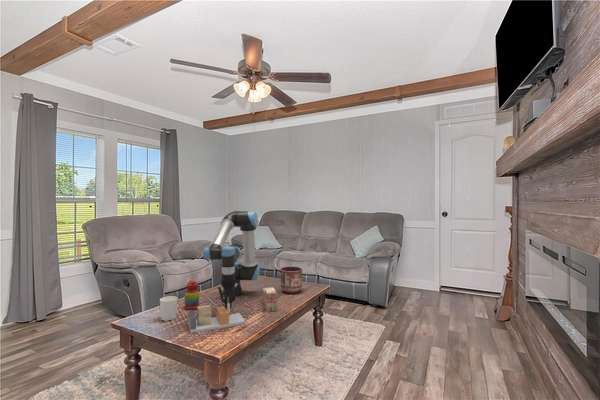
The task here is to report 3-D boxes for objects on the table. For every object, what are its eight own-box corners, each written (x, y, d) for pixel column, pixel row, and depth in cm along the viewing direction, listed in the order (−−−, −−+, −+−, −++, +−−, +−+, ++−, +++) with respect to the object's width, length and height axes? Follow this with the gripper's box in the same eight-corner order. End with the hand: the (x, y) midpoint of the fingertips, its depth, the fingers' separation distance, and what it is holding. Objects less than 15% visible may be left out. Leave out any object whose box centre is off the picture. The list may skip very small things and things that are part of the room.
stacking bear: (202, 308, 199) (202, 281, 199) (185, 311, 194) (186, 283, 194) (198, 303, 208) (198, 277, 208) (182, 306, 203) (183, 279, 203)
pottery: (275, 292, 234) (275, 269, 234) (287, 287, 249) (288, 265, 249) (294, 296, 225) (294, 272, 225) (306, 290, 240) (306, 268, 240)
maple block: (197, 322, 172) (197, 306, 172) (209, 320, 175) (210, 305, 175) (198, 325, 168) (198, 309, 168) (211, 323, 171) (211, 307, 171)
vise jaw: (216, 317, 180) (216, 307, 180) (224, 315, 182) (224, 306, 182) (220, 324, 169) (220, 314, 169) (229, 323, 172) (229, 312, 172)
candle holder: (163, 315, 186) (163, 296, 186) (179, 315, 187) (179, 295, 187) (156, 322, 177) (157, 301, 177) (174, 321, 177) (174, 301, 178)
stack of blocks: (262, 301, 214) (262, 284, 214) (271, 300, 216) (271, 283, 216) (266, 312, 193) (266, 293, 193) (276, 311, 195) (276, 292, 195)
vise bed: (188, 323, 174) (188, 310, 175) (239, 315, 187) (239, 303, 187) (190, 333, 162) (190, 319, 162) (245, 323, 175) (245, 310, 175)
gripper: (218, 276, 171) (218, 317, 171) (240, 273, 177) (240, 314, 177) (215, 273, 178) (215, 313, 178) (237, 271, 184) (237, 309, 184)
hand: (228, 313), depth 177 cm, fingers closed
